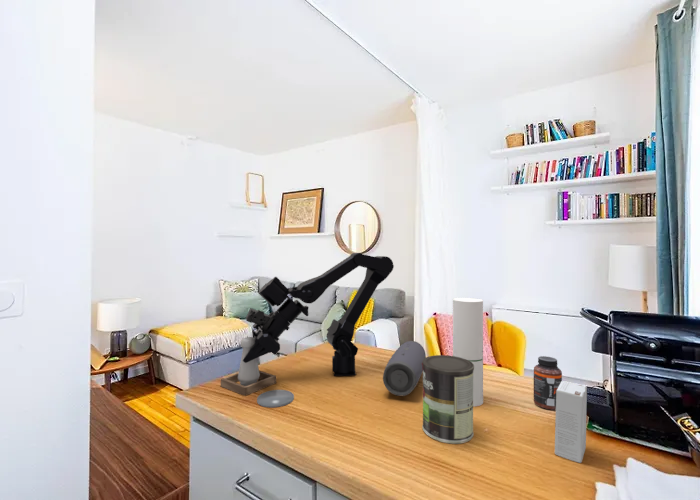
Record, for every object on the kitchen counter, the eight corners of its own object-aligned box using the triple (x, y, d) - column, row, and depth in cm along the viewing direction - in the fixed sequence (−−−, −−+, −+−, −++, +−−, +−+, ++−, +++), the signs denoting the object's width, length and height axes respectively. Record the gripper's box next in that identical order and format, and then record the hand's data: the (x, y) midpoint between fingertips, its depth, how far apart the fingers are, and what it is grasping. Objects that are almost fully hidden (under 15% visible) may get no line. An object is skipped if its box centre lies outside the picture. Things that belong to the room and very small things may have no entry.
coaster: (295, 391, 90) (295, 389, 90) (291, 407, 81) (291, 404, 81) (261, 392, 90) (261, 390, 90) (253, 408, 81) (253, 405, 81)
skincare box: (559, 441, 67) (559, 379, 67) (587, 449, 64) (587, 384, 64) (553, 455, 62) (553, 388, 62) (583, 465, 59) (583, 395, 59)
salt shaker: (262, 381, 97) (262, 335, 98) (255, 389, 92) (255, 340, 92) (242, 380, 98) (242, 335, 98) (234, 388, 92) (234, 340, 92)
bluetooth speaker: (418, 403, 83) (418, 362, 83) (380, 398, 86) (380, 359, 86) (427, 372, 105) (427, 340, 105) (397, 369, 108) (397, 337, 108)
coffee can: (427, 444, 66) (427, 370, 66) (418, 418, 76) (418, 354, 76) (481, 445, 65) (481, 371, 65) (465, 418, 76) (465, 355, 76)
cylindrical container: (484, 397, 87) (483, 298, 87) (482, 408, 80) (482, 302, 81) (455, 392, 90) (454, 297, 90) (450, 403, 83) (450, 300, 84)
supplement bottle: (559, 413, 78) (558, 364, 78) (530, 405, 82) (530, 358, 82) (564, 405, 82) (564, 358, 82) (537, 397, 86) (537, 353, 86)
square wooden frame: (252, 375, 102) (252, 368, 102) (276, 382, 96) (276, 375, 96) (220, 386, 94) (220, 379, 94) (244, 395, 88) (244, 388, 88)
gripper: (260, 294, 105) (221, 333, 101) (267, 303, 88) (221, 350, 84) (285, 318, 108) (249, 356, 104) (297, 331, 90) (254, 378, 86)
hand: (243, 359), depth 94 cm, fingers closed on salt shaker, 3 cm apart
